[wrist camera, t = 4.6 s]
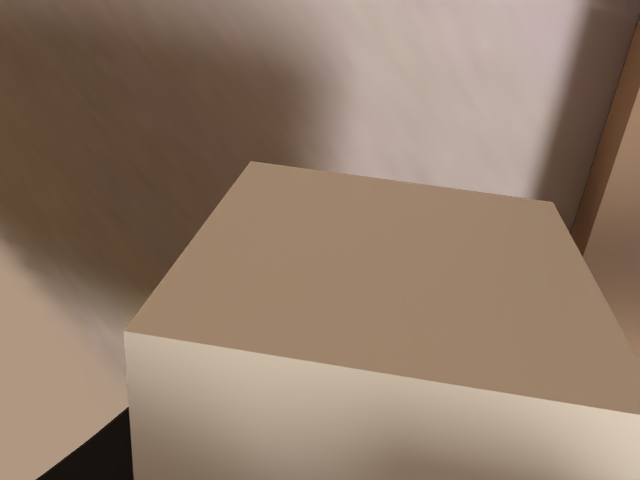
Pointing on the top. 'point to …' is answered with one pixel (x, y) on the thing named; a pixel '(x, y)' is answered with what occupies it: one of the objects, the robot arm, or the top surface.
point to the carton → (379, 341)
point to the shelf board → (616, 204)
